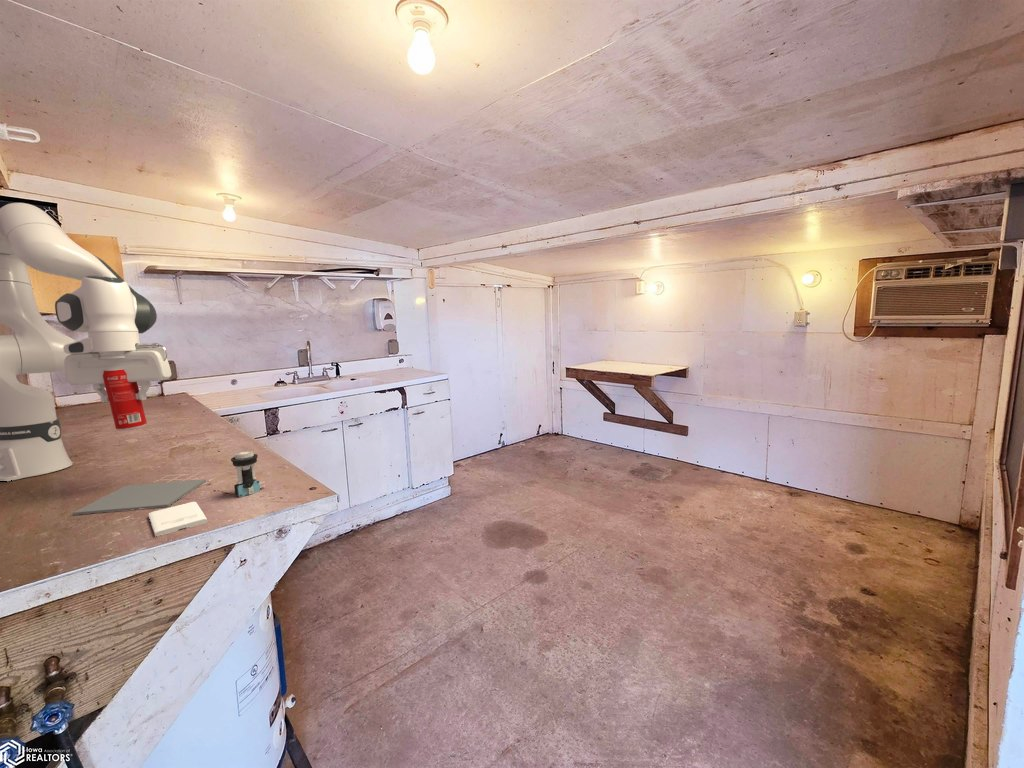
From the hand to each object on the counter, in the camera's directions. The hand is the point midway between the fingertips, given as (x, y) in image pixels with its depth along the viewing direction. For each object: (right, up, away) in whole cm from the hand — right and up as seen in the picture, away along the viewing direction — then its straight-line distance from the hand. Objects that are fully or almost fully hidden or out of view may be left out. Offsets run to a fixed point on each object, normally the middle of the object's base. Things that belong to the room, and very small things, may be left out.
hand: (124, 401), depth 101 cm
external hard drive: (+25, -25, -15) cm, 39 cm away
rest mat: (+8, -23, -3) cm, 24 cm away
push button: (+32, -22, -1) cm, 39 cm away
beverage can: (0, -7, +1) cm, 7 cm away
